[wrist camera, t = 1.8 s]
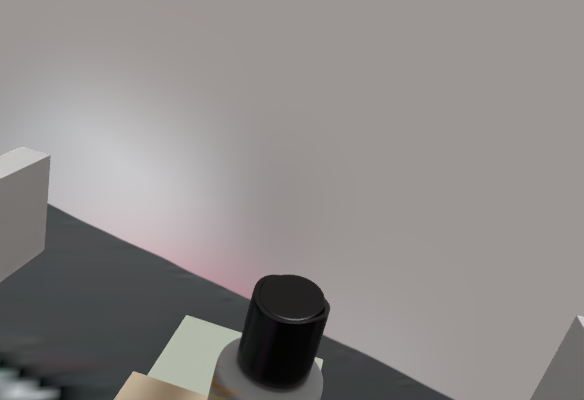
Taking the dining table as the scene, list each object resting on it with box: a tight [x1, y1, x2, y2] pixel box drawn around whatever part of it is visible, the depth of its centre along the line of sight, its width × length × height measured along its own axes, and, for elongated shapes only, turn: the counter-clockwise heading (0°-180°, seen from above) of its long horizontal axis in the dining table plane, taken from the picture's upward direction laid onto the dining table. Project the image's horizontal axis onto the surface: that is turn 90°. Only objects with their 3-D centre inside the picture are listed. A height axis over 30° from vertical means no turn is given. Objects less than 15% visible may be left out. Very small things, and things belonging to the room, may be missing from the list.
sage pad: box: [147, 315, 323, 396], centre depth 48 cm, size 14×11×1 cm
